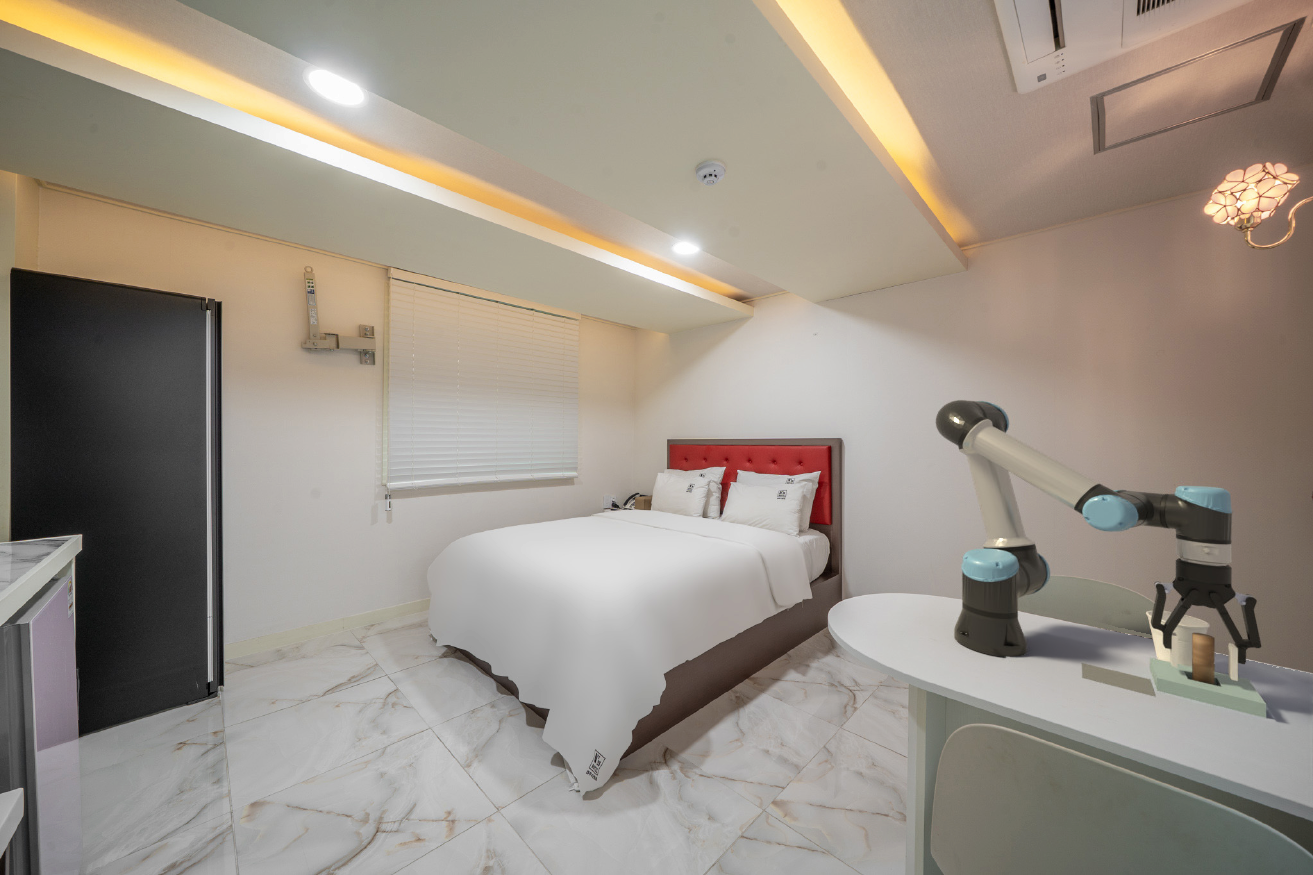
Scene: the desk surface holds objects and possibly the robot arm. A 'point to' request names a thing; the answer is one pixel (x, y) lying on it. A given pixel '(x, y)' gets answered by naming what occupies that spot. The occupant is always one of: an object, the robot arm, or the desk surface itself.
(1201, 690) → the socket block
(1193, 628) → the cup
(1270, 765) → the desk surface
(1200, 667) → the peg
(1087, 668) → the mat
